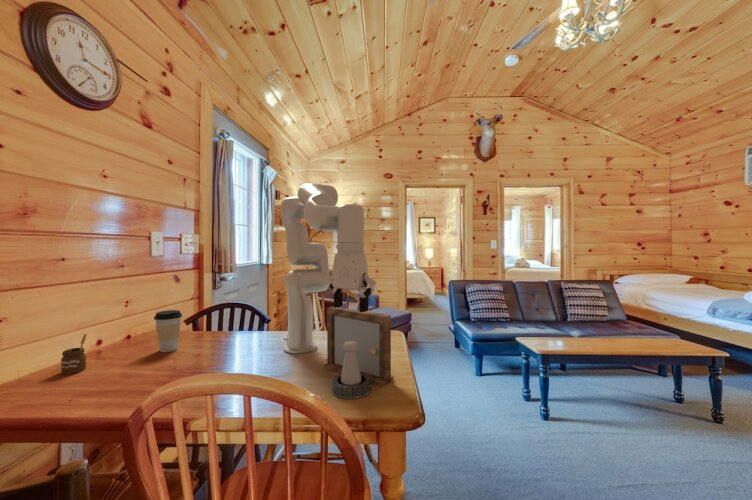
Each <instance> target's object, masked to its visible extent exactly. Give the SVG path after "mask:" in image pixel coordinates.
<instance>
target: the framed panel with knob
mask: <svg viewBox="0 0 752 500" xmlns="http://www.w3.org/2000/svg"><path fill="white" fill-rule="evenodd" d="M326 310H327V311H326V325H327V327H326V333H327V334H326V336H327V337H326V346H327V348H326V349H327V351H326V353H327V358H326V360H327V362H326V363H324V364H323V367H324V369H326V370H329V371H332V372H336V373H338V374H342V369H343V366H342V365H339V364H336V363H335V329H334V316H335V315H338V316H344V317H349V318H355V319H360V320H366V321H371V322H377V323H379V360H380V377H377V376H374V375H371V374H368V373H365V372H361V371H360V373H363V374H366V375H367V376H368V377H369V378H370V385H374V386H378V387H380V388H383V387H385V386H386V385H388V384H390V383H391V382H393V381H395V378H394V377H395V375H392V373H391V372H392V367H391V365H392V361H391V360H392V359H391V357H392V354H391V353H392V348H391V347H392V344H391V343H392V340H391V339H392V331H391V330H392V326H391V325H392V324H391V323H392V322H391V320H392V319H391V317H392V316H391V314H386V313H385V314H384V313H379V312H372V311H365V312H360V311H359V309H354V308H353V309H352V308H347V307H343V306H341V307H337V308H334V305H333V306H329V307H326Z"/></svg>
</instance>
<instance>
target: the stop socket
mask: <svg viewBox="0 0 752 500" xmlns="http://www.w3.org/2000/svg"><path fill="white" fill-rule="evenodd" d="M360 374H361V382H360V384H359V385H355V386H344V385H342V382H341V375H342V374H341V373H338V375H336V376H334V377H333V379H332V381H331V383H332V386H331V387H332V388H331V393H332V395H333V396H335V397H336V398H339V399H342V400H343V399H345V400H355V399H361V398H365V397H366V396H368V395H369V394H370V393H371V390H372V389H371V388H372V386H371V383H370V378H369V377H368V376H367V375H366V374H363V373H360Z"/></svg>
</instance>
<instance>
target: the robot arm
mask: <svg viewBox="0 0 752 500" xmlns="http://www.w3.org/2000/svg"><path fill="white" fill-rule="evenodd" d="M338 201H339V194H338V191H337V189H336V188H335V186H332V185H329V184H320V183H312V182H311V183H304V184H302V185H301V186H299V188H298V191H297V196H289V197H285V198H284V199H283V200H282V201H281V204H280V217H281V218H280V219H281V221H282V224H283V227H284V230H285V234H286V251H287V259H288V262H289V263H288V264H290V265H291V266H293V267H294V266H296V267H299V266H300V267H305V266H306V267H307V266H311V267H312V266H314V268H301V269H300V268H299V269H298V268H295V269H292V270H289V271H288V272H287V273H286V275H285V277H284V284H285V289H286V296H287V335H286V336H285V337H284V338H283V340H284V341H286V344H285V345H284V346H283V351H284V352H286V353H289V354H295V355H297V354H298V355H299V354H306V353H307V354H308V353H310V352H312V351H315V350H316V349H317V343H316V342H314V339H313V337H314V335H313V333H314V332H313V330H314V329H313V324H314V323H313V303H312V301H311V299H310V298H309V296H308V295H307V294H308V293H318V292H326V291H327V290H328V289H329V288H330V289H331V293H332V294H333V306H334V308H337V307H343V305H344V303H343V302H344V301H343V299H344V295H343V293H344V292H342V291H343V290H347V291H357V292H358V293H359V295H360V297H359V301H358V303H359V304H358V307H359V309H358V310H359V311H360V312H365V311H367V312H369V305H370V304H369V301H370V300H369V297H370V296H371V295H372V293H373V292H374V290H375V287H376V285H377V282H376V280H374V279H373V278H371V277H370V276H369V271H368V270H369V269H368V268H369V267H368V261H367V256H366V253H365V209H364V207H363V205H360V204H356V203H353V204H352V203H350V204H349V203H346V204H341V205H337V204H338ZM301 220H305V221H306V224H307V225H308V226H309V227H310V228H311V229H313V230H314V231H319V232H336V234H337V237H336V239H337V241H336V242H337V244H336V245H335V249H337V250H336V251H337V253H335V255H334V258H333V264H332V275H330V268H329V267H330V266H329V256H328V250H327V247H326V245H325V244H324V243H322V242H318V241H317V242H311V241H310V240H309V233H308V232H309V231H308V229H307V227H306V226H305V224H304V223H303V222H302V221H301Z"/></svg>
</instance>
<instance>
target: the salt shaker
mask: <svg viewBox="0 0 752 500" xmlns="http://www.w3.org/2000/svg"><path fill="white" fill-rule="evenodd" d="M358 348H359V346H358V343H357V342H355V341H347V342H345V343H344V345H343V349H344V351H345V357H344V363H343V369H342V375H341V382H342V385H344V386H355V385H359V384H360V382H361V374H360V369H359V364H358V359H357V353H356V351H357V350H358Z"/></svg>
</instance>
